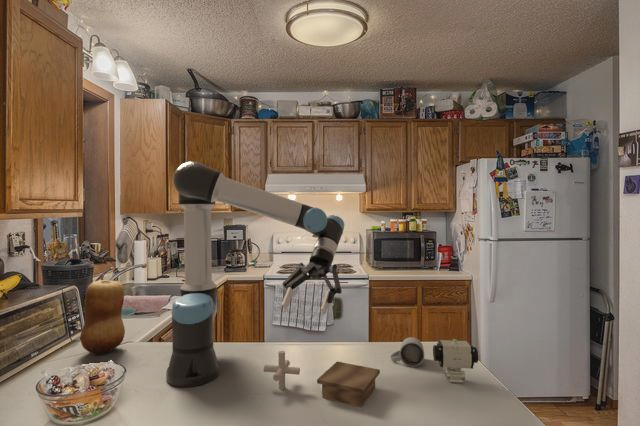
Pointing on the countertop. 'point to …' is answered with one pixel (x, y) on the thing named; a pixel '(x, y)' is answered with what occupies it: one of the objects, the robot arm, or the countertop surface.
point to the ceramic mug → (409, 352)
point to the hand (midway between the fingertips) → (303, 309)
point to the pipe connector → (281, 369)
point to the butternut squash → (103, 317)
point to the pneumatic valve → (455, 358)
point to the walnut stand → (348, 383)
